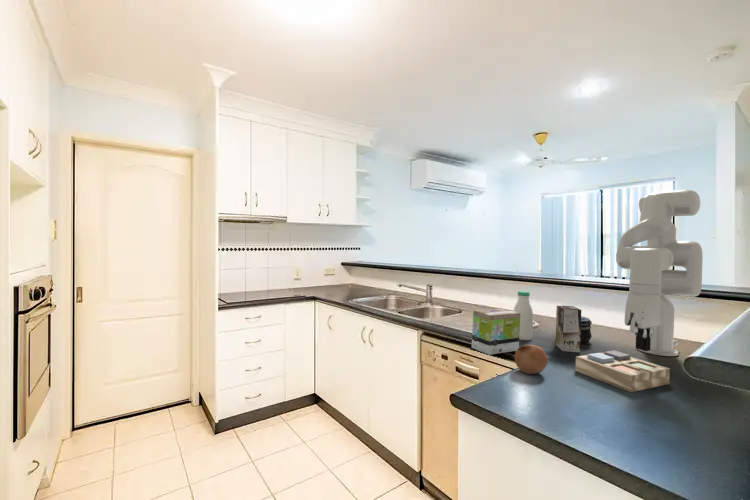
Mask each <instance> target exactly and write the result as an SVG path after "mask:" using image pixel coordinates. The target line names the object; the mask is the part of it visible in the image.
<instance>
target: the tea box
mask: <svg viewBox="0 0 750 500" xmlns="http://www.w3.org/2000/svg"><path fill="white" fill-rule="evenodd" d="M471 332H472V333H471V348H472V349H473V350H476V351H479V352H481V353H483V354H486V355H488V356H492V355H496V354H503V353H510V352H516V351H517V349H518V348H520V340H519V332H520V313H518V312H514V310H509V309H506V308H502V307H500V308H490V309H475V310H473V315H472V331H471Z"/></svg>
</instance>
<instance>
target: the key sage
mask: <svg viewBox="0 0 750 500" xmlns="http://www.w3.org/2000/svg"><path fill="white" fill-rule="evenodd" d="M631 365H634V366H637V367H640V368H643V369H651V368H653V367H650V366H647V365H643V364H640V363H635V364H631Z"/></svg>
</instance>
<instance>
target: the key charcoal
mask: <svg viewBox="0 0 750 500" xmlns="http://www.w3.org/2000/svg"><path fill="white" fill-rule="evenodd" d="M603 353H604V355H608V356H611V357H614V359H615V360H618V361H623V360H630V357H631V354H627V353H624V352H621V351H619V350H618V351H617V350H615V349H613V350H608V351H604V352H603Z"/></svg>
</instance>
